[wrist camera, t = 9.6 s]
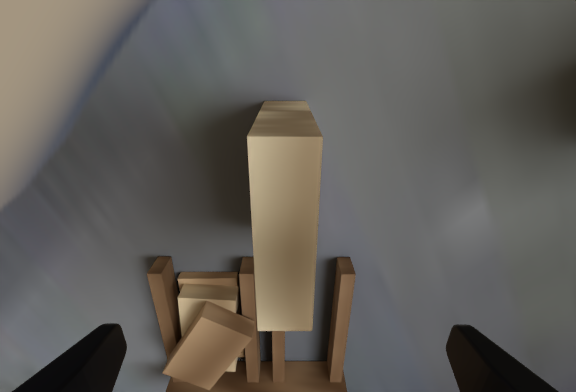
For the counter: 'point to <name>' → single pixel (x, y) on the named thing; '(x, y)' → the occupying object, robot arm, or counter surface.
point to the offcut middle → (196, 297)
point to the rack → (253, 372)
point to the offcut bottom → (212, 283)
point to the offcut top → (209, 346)
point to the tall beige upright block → (284, 213)
